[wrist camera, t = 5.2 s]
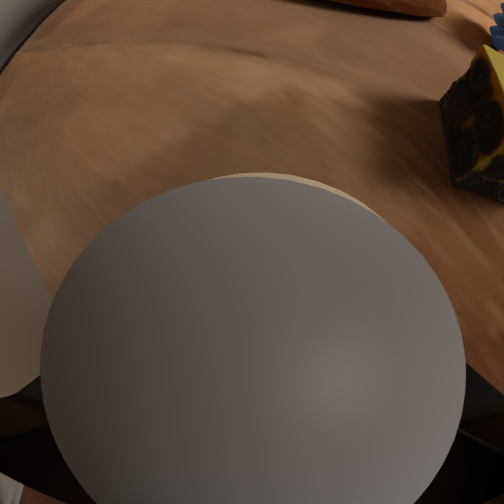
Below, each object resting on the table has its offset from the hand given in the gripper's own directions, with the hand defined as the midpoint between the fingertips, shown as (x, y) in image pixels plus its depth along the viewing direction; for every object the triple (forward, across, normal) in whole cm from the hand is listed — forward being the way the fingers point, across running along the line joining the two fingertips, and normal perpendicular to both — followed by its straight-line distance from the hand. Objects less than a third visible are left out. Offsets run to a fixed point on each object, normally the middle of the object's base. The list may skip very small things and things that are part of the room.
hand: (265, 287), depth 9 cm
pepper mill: (+4, 0, +6) cm, 7 cm away
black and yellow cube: (+19, -22, 0) cm, 29 cm away
